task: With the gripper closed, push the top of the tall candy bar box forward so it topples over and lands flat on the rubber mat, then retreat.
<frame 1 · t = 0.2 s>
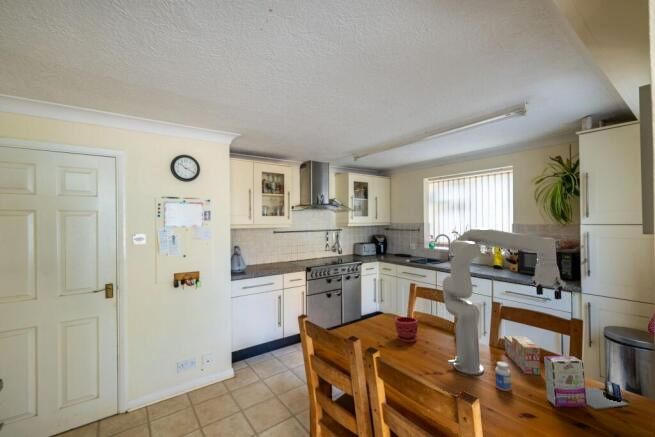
hand: (548, 296, 138), 31 cm above the table, fingers open, 9 cm apart
candy bar box: (566, 403, 104), on the table
pill bottle: (503, 388, 115), on the table
plant pot: (406, 339, 167), on the table
printed cardboard carton: (521, 363, 135), on the table
mat: (595, 398, 107), on the table
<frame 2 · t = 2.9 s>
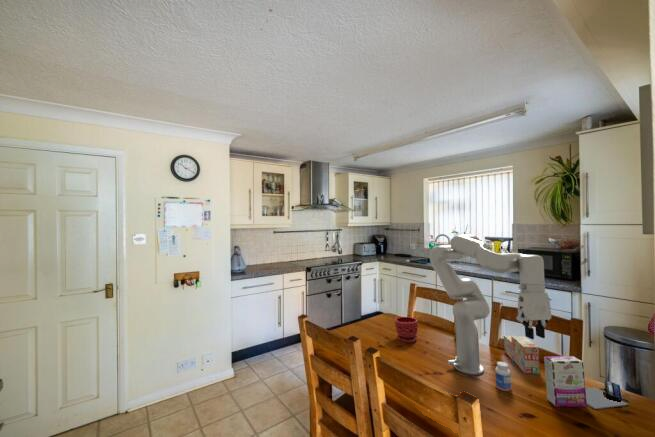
hand: (535, 336, 104), 25 cm above the table, fingers open, 3 cm apart
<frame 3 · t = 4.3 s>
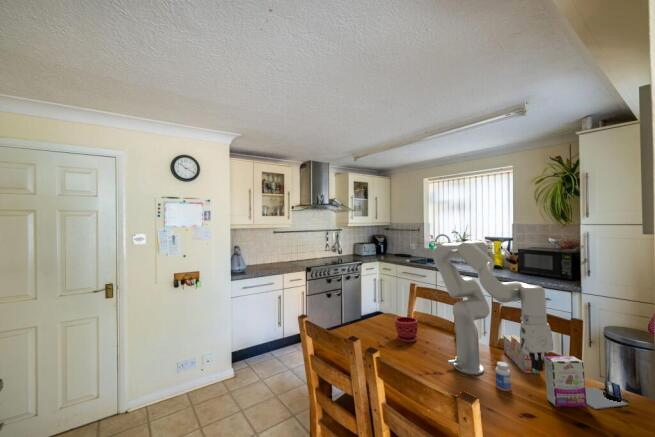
hand: (537, 369, 103), 14 cm above the table, fingers closed
nothing on the table moved.
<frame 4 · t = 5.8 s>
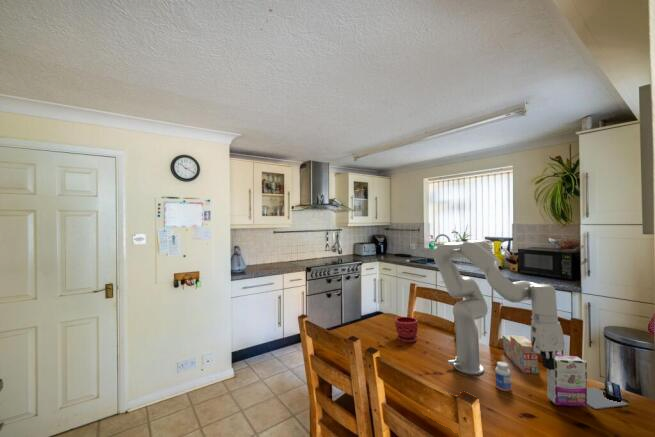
hand: (548, 367, 103), 14 cm above the table, fingers closed
candy bar box: (565, 402, 104), on the table, touching gripper
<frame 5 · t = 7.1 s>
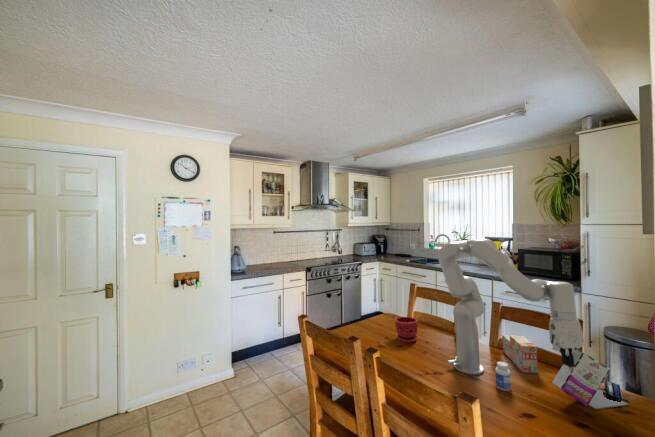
hand: (568, 365, 104), 14 cm above the table, fingers closed
candy bar box: (567, 394, 104), point 3 cm above the table, touching gripper
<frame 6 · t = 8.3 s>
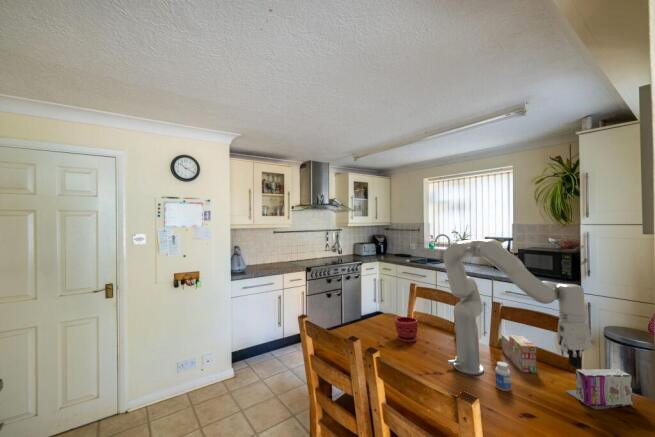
hand: (575, 366, 105), 13 cm above the table, fingers closed
candy bar box: (580, 386, 104), point 6 cm above the table, touching mat
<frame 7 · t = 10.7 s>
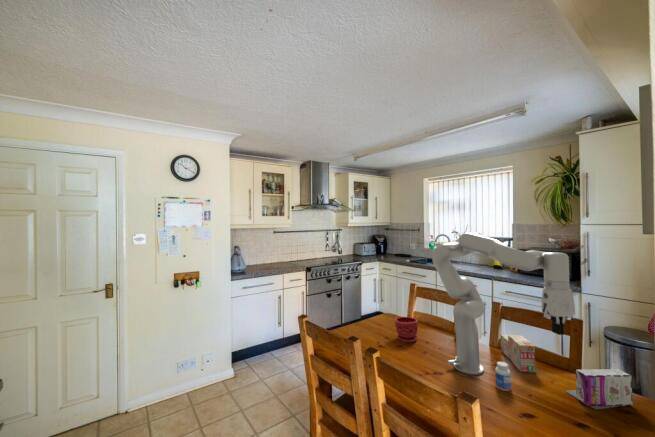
hand: (558, 333, 105), 26 cm above the table, fingers closed
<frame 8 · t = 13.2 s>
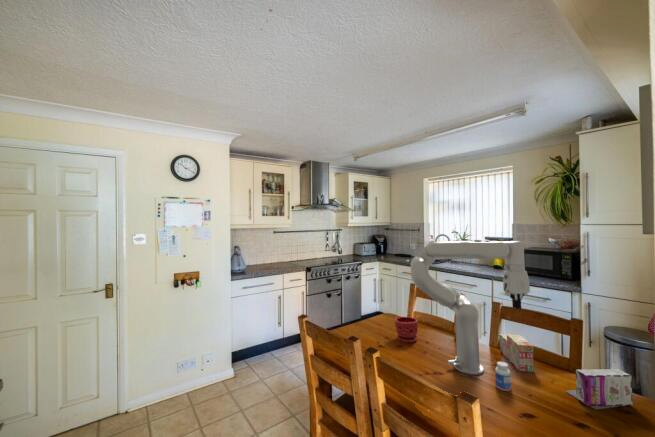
hand: (516, 308, 127), 29 cm above the table, fingers closed
at the end: candy bar box tilted 91°; candy bar box inside the target area (5.4 cm from its centre), point 6.1 cm above the table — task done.
